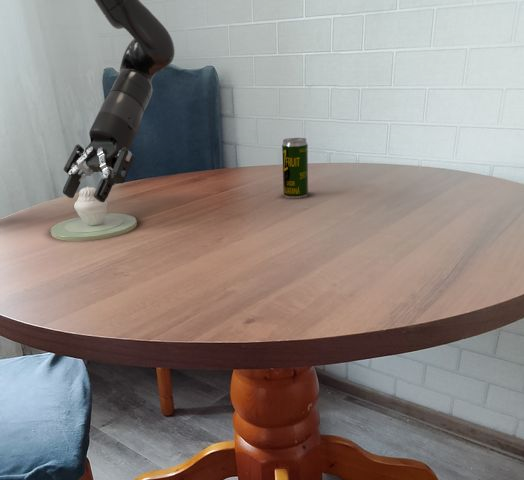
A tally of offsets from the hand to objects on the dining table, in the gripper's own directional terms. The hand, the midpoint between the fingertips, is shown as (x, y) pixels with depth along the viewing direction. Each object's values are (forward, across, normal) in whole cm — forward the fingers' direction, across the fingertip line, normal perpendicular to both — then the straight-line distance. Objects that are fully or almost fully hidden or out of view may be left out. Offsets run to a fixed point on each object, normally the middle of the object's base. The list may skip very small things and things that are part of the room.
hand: (82, 197), depth 100 cm
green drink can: (-23, +23, +32) cm, 45 cm away
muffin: (+3, 0, +5) cm, 6 cm away
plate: (+4, 0, +6) cm, 7 cm away
